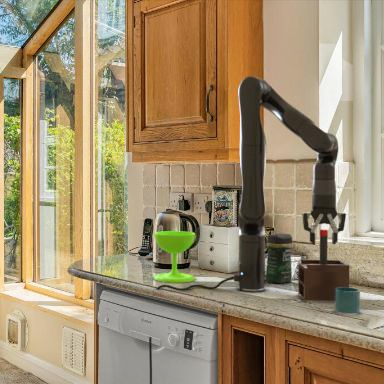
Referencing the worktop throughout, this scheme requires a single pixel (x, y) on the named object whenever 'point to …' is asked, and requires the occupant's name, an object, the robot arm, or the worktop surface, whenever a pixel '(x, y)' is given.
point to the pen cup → (347, 300)
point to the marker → (323, 246)
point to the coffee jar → (279, 258)
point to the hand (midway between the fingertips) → (323, 243)
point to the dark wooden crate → (321, 279)
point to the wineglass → (174, 253)
